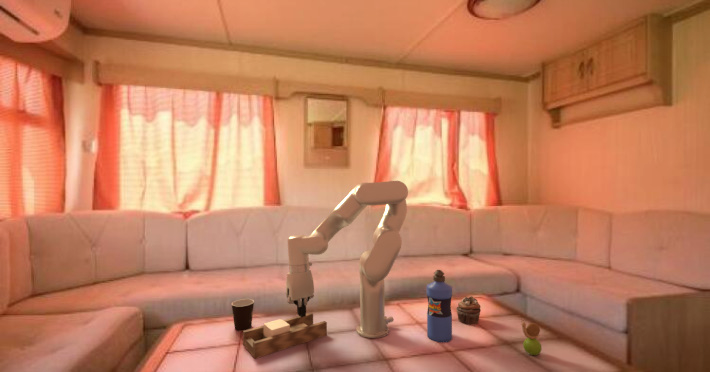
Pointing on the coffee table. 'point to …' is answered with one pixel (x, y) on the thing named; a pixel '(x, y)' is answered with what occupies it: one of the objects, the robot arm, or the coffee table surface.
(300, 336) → the box
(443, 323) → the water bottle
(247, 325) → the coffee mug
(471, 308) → the cupcake
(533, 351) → the snail figurine
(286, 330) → the cream block
